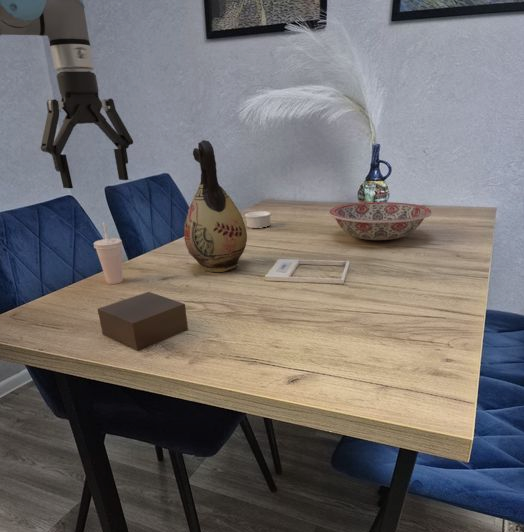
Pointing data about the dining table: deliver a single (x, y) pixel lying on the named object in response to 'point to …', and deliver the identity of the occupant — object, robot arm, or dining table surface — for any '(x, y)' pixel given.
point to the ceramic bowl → (379, 219)
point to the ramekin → (258, 219)
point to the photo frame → (288, 266)
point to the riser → (143, 320)
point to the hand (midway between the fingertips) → (97, 183)
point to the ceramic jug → (213, 219)
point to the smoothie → (110, 258)
